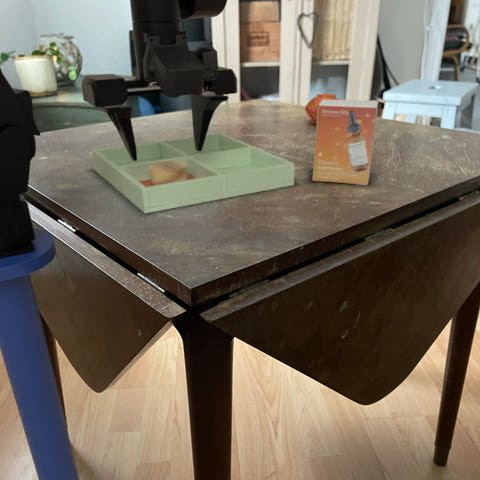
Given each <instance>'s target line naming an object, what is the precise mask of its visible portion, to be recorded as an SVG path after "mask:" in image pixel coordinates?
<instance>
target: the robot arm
mask: <svg viewBox="0 0 480 480" xmlns="http://www.w3.org/2000/svg"><path fill="white" fill-rule="evenodd" d="M227 3H228V0H129V5H130V13H131V24H132V25H131V26H132V30H130V31H129V34H130V40H131V41H133V43H134V54H135V63H136V67H133V71H134V77H135V78H134V79H133V78H132V79H125V78H124V77H123V76H120V75H117V74H115V73H104V74H94V75H93V74H92V75H85V76H84V77H83V78H82V80H81V92H82V93H81V94H82V98H83V99H82V100H83V101H84V102H86V103H87V104H90V105H91V106H93V107H95V108H96V109H98V110H100V111H102V112H103V113H105V114H106V115H107V116H108V118H109V119H110V120H111V122H112V124H113V126H114V127H115V128H116V131H117V132H118V135H119V137H120V139H121V141H122V143H123V144H124V145H123V146H125V147H126V149H127V151H128V153H129V155H130V157H131V159H132V160H133V161H137V150H136V144H137V143H136V140H135V135H134V129H133V128H134V127H133V123H132V111H133V108H132V107H131V106H130V105H127V103H126V101H127V100H128V98H129V97H135V96H146V95H157V94H163V95H164V96H165V97H167V98H171V99H177V98H179V97H181V96H188V95H189V96H190V105H191V106H190V107H191V119H192V120H191V121H192V131H193V136H194V142H195V147H196V150H197V151H202V148H203V145H204V141H205V138H206V135H208V131H209V127H210V124H211V121H212V119H213V116H214V114H215V111H216V110H217V108H219V106H220V105H221V104H222V103H223V102H224V103H225V102H227V101H228V100H229V96H228V95H233V94H238V77H237V75H236V73H235V72H234V70H233V69H232V68H227V67H224V66H219V58H218V51H217V50H216V48H215V47H213V46H199V47H198V48H197V49H196V50H190V47H189V45H188V37H187V31H186V30H182V20H190V19H191V20H192V19H206V18H207V19H208V18H216V17H218V16H219V15H220V14H222V13H223V12H224V10H225V8H226V6H227ZM148 84H149V85H148ZM33 105H34V104H33V99H32V95H31V93H30V90H28V89H20V88H14V87H12V85H11V84H10V82H9V81H8V79H7V78H6V76H5V74H4V72H3V71H2V67H0V259H2V258H7V257H12V256H16V255H21V254H26V253H31V252H34V251H35V248H34V245H33V243H32V242H31V241H33V240H34V239H35V234H34V230H33V228H34V226H33V221H32V217H31V212H30V207H29V203H28V202H27V200H26V198H25V197H24V195H22V194H25V193H27V192H28V190H29V181H30V171H31V162H32V160H33V158H35V156H36V153H37V143H36V142H37V140H36V137H40V136H41V132H40V130H39V128H38V126H37V124H36V121H35V117H34V107H33Z"/></svg>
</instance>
